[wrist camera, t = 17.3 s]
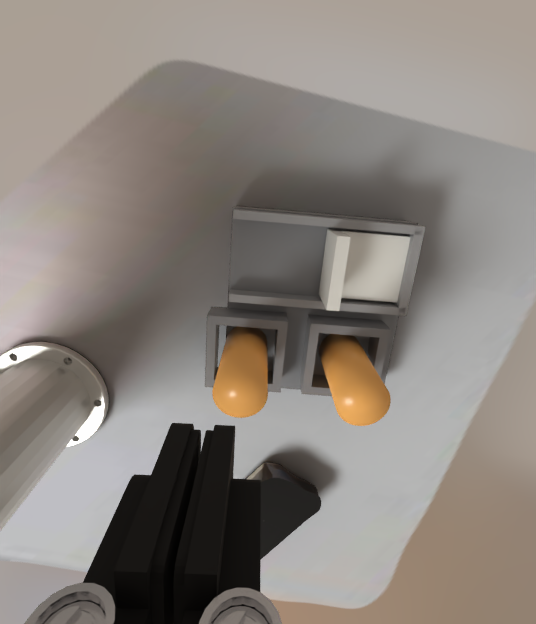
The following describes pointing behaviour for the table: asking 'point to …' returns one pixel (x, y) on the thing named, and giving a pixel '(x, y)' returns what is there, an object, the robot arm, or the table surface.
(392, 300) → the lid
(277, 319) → the housing
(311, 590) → the table surface
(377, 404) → the peg
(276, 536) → the black sponge
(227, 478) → the robot arm
